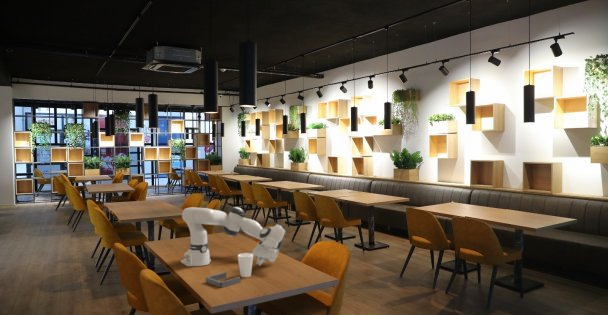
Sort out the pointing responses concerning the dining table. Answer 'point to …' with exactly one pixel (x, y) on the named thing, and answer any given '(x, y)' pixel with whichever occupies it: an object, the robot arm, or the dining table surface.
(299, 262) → the dining table surface
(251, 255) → the foam cup
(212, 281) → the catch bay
